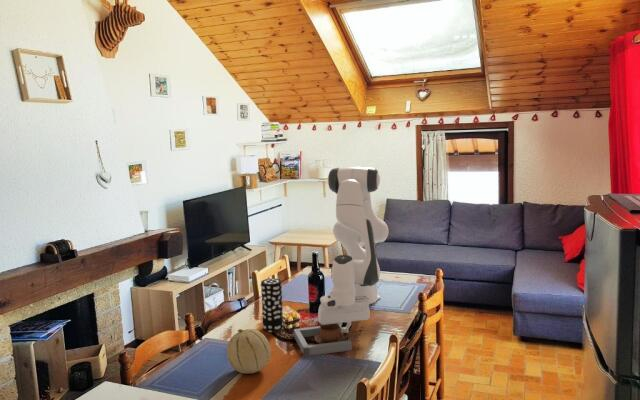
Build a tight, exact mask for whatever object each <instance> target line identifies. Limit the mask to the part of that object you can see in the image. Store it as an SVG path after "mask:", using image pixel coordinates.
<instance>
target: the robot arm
mask: <svg viewBox="0 0 640 400" xmlns="http://www.w3.org/2000/svg"><path fill="white" fill-rule="evenodd" d="M380 182H381V177H380V173H379V170H377V169H376V168H374V167H371V166H370V167H363V166H350V167H335V168H331V170H330V171H329V173H328V176H327V185H328V188H329V189H330V191H331V192H333V193H335V194H336V201H335V203H336V204H335V217H336V220H337V221H336V222H335V223H334V225H333V229H332V233H333V237H334V239H336V240H337V241H338V242H339V243H340V244H341V245H342V246H343V247H344V249H345V250H346V253H347V254H341V255H337V256H335V257H334V258H333V260H332V266H331V271H330V272H331V275H330V276H331V277H330V278H331V280H332V290H331V291H332V292H329V293H328V294H325V295H322V296H321V297H320V298H319V300H320V304H319V307H318V312H317V320H318V323H319V324H320V326H321V325H327V324H338V325H339V331H340V332H342V333H343V334H348V333H349V331H350V330H349V329H350V327H351V325H352V323H353V322H361V321H367V320H369V319H370V318H371V312H370V305H371V304H375V303H376V302H377V301H379V300H381V296H380V295H379V294H378V284H377V283H378V282H379V281H380V278H381V268H380V265H379V262H378V261H379V260H378V256H377V249H376V244H377V243H384V242H385V241H386V239H387V238H388V236H389V226H388V224H387V222H386V221H384V220H382V219H380V218H379V217H378V216H377V215H376V213H375V212H374V210H373V206H372V201H371V193H373V192H376V191H377V190H378V189H379V186H380ZM361 244H364V248H363V247H362V246H361ZM343 323H346V325H345V326H343ZM342 326H343V327H342Z"/></svg>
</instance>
